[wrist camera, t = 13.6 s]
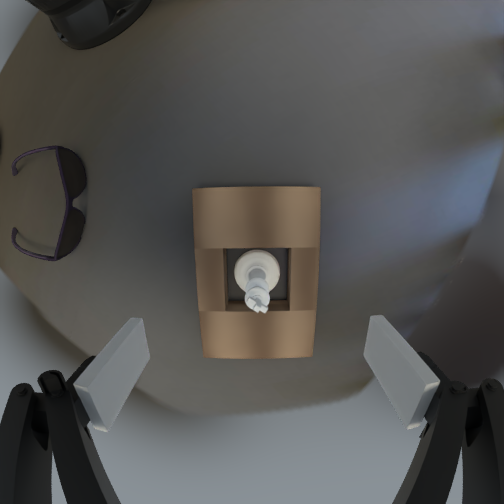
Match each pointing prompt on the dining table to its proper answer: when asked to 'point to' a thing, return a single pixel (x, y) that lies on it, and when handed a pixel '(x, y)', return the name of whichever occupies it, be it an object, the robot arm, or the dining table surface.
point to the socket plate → (257, 236)
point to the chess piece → (257, 277)
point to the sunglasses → (73, 187)
